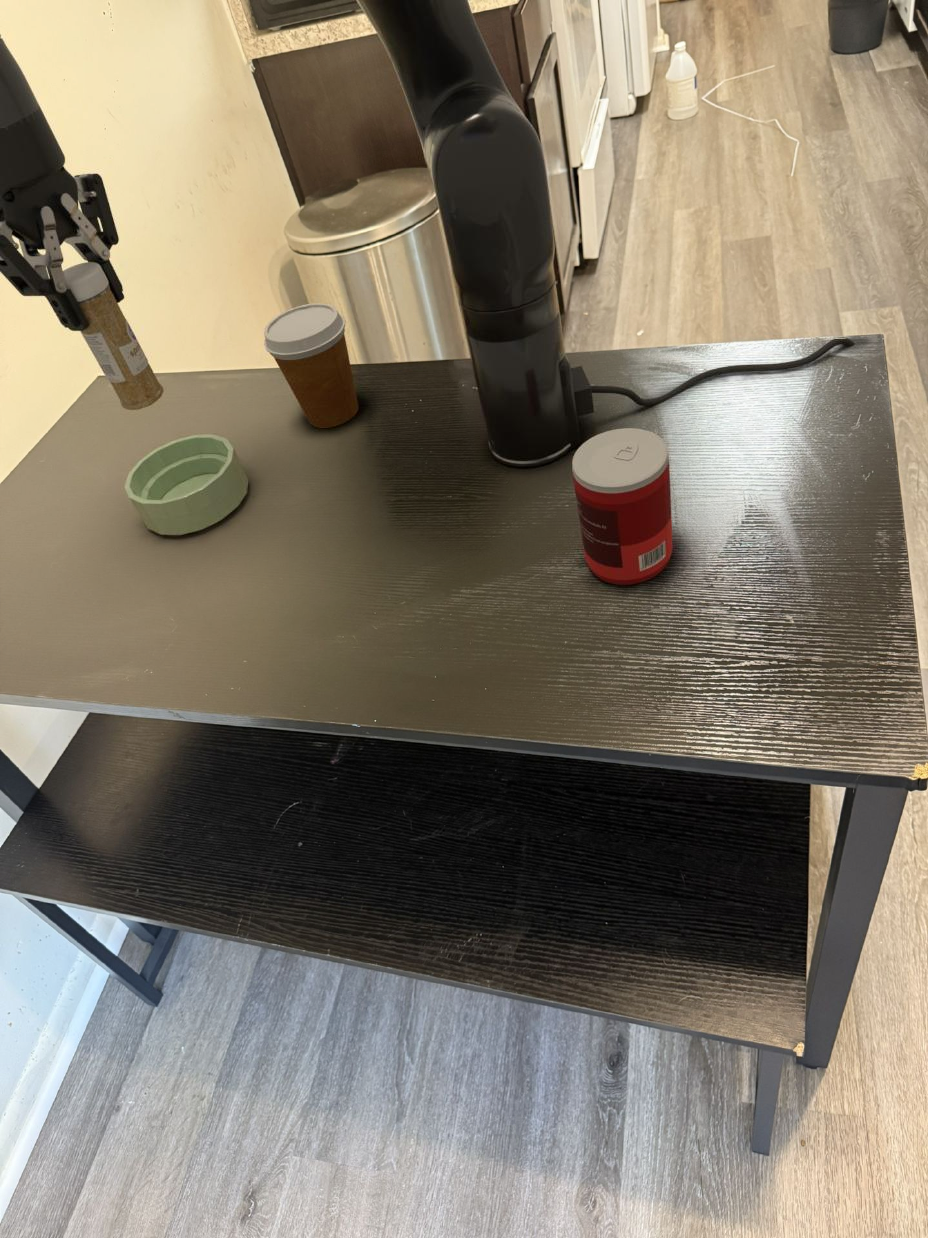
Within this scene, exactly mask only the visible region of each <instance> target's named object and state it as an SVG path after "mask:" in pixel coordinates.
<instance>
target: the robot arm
mask: <svg viewBox="0 0 928 1238" xmlns="http://www.w3.org/2000/svg"><path fill="white" fill-rule="evenodd" d="M355 1H356V2H357V4H358V6H359V7H360V9H361V10H362V12H363V13H364V15H365V17H366V18H367V20H368V21H369V23H370V25H371V26H372V28H373V29H374V31H375V33H376V34H377V36H378V38H379V39H380V41H381V43H382V44H383V46H384V49H385V50H386V52H387V54H388V56H389V59H390V61H391V63H392V66H393V69H394V71H395V73H396V76H397V78H398V81H399V83H400V87H401V89H402V91H403V94H404V97H405V100H406V103H407V106H408V108H409V111H410V114H411V117H412V120H413V122H414V123H413V124H414V126H415V129H416V132H417V135H418V138H419V142H420V144H421V148H422V152H423V157H424V161H425V165H426V167H427V171H428V174H429V176H430V179H431V182H432V185H433V190H434V194H435V198H436V203H437V207H438V212H439V217H440V221H441V225H442V229H443V234H444V238H445V244H446V248H447V252H448V257H449V263H450V269H451V277H452V281H453V286H454V289H455V294H456V298H457V303H458V307H459V312H460V316H461V321H462V325H463V330H464V335H465V340H466V343H467V348H468V353H469V358H470V362H471V367H472V371H473V376H474V380H475V384H476V389H477V393H478V398H479V403H480V407H481V411H482V417H483V421H484V425H485V429H486V437H487V440H488V447H489V451H490V454H491V455H492V457H493V458H494V459H495V460H496V461H498V462H500V463H501V464H504V465H506V466H509V467H510V466H511V467H518V468H528V467H530V468H531V467H537V466H542V465H545V464H549V463H551V462H553V461H556V460H557V459H559V458H562V457H563V456H564V455H565V454H567V453H568V452H569V451H570V450H572V449H575V448H579V447H580V446H581V445H582V442H581V433H580V428H579V419H578V418H579V417H582V416H587V415H590V414H595V408H594V407H595V406H594V397H593V394H614V395H615V394H616V395H621V396H625V397H627V398H629V399H630V400H631V401H632V402H634V403H635V404H636V405H638V406H640V407H641V406H642V407H653V406H657V405H660V404H662V403H664V402H666V401H668V400H670V399H672V398H673V397H675V396H677V395H680V394H681V393H682V392H684V391H685V390H688V389H689V388H691V387H693V386H694V385H696V384H698V383H700V382H702V381H704V380H707V379H710V378H712V377H717V376H720V375H726V374H734V373H746V372H747V373H751V372H752V373H753V372H775V371H785V370H790V369H796V368H800V367H803V366H807V365H809V364H811V363H813V362H815V361H816V360H818V359H820V358H821V357H822V356H824V355H825V354H826V353H827V352H829V351H830V350H831V349H833V348H835V347H836V346H841V345H842V346H844V347H847V348H850V347H853V346H855V344H856V343H855V342H854V341H853V340H852V339H850V338H849V337H843V336H842V337H841V336H840V338H846V339H835V338H833V339H831V340H830V341H828V342H827V343H825V344H824V345H823V346H821V347H820V348H819V349H817V350H816V351H814V352H813V353H811V354H810V355H807V356H806V357H803V358H800V359H796V360H791V361H786V362H776V363H755V364H735V365H727V366H721V367H720V366H719V367H716V368H712V369H709V370H706V371H703V372H700V373H698V374H697V375H694V376H693V377H691V378H689V379H687V380H686V381H684V382H683V383H681V384H680V385H678V386H676V387H675V388H673V389H672V390H670V391H668V392H667V393H664V394H663V395H660V396H658V397H653V398H642V397H641V396H639V395H638V394H637V393H636V392H635V391H634V390H632V389H629V388H625V387H622V386H615V385H614V386H613V385H591V383H590V381H589V379H588V377H587V375H586V373H585V370H584V368H583V366H582V365H579V366H575V367H571V364H570V361H569V358H568V356H567V353H566V349H565V341H564V334H563V327H562V320H561V312H560V304H559V298H558V289H557V283H556V275H555V267H554V266H555V265H554V259H555V235H554V225H553V218H552V209H551V207H552V206H551V199H550V191H549V182H548V175H547V167H546V162H545V156H544V152H543V147H542V143H541V140H540V138H539V135H538V134H537V131H536V129H535V128H534V126H533V125H532V123H531V122H530V121H529V119H528V118H527V117H526V115H525V114H524V112H523V111H522V109H521V108H520V106H519V105H518V103H517V102H516V101H515V99H514V97H513V96H512V94H511V93H510V91H509V89H508V87H507V86H506V83H505V81H504V79H503V78H502V76H501V74H500V72H499V70H498V67H497V66H496V64H495V62H494V60H493V57H492V55H491V53H490V51H489V49H488V47H487V44H486V42H485V41H484V37H483V35H482V33H481V31H480V29H479V27H478V24H477V22H476V19H475V17H474V14H473V12H472V8H471V6H470V3H469V0H355ZM65 164H66V157H65V153H64V152H63V150H62V148H61V146H60V144H59V142H58V140H57V138H56V135H55V134H54V132H53V130H52V128H51V126H50V124H49V121H48V120H47V118H46V116H45V114H44V112H43V110H42V108H41V105H40V104H39V102H38V100H37V98H36V96H35V94H34V91H33V90H32V88H31V86H30V84H29V81H28V80H27V78H26V76H25V74H24V72H23V70H22V68H21V67H20V65H19V63H18V61H17V60H16V59H15V57H14V55H13V54H12V52H11V50H10V49H9V48H8V46H7V44H6V42H5V40H4V39H3V38H2V35H1V34H0V274H2V275H3V276H4V278H5V279H6V280H7V281H8V282H9V283H10V284H11V285H12V286H13V287H14V288H15V289H16V290H17V292H18V293H19V294H20V295H21V296H23V297H44V298H45V299H46V300H47V301H48V303H49V305H50V307H51V309H52V310H53V312H54V314H55V315H56V317H57V319H58V321H59V323H60V324H61V325H62V326H63V327H64V328H65V329H69V331H72V332H81V331H84V330H85V329H87V328H88V327H89V322H88V320H87V319H86V317H85V315H84V313H83V311H82V309H81V308H80V306H79V304H78V302H77V300H76V299H75V297H74V295H73V293H72V291H71V289H67V284H66V281H65V277H64V274H63V271H64V269H63V267H62V264H63V263H64V255H63V252H62V248H61V246H62V245H63V243H65V244H68V245H70V246H71V247H72V249H74V250H75V251H76V253H77V254H78V255H79V256H80V257H81V258H82V260H84V261H85V262H95V263H97V264H99V265H100V266H101V268H102V270H103V272H104V274H105V276H106V278H107V280H108V282H109V284H108V285H109V287H110V290H111V292H112V294H113V296H114V298H115V300H116V302H117V303H118V304H119V303H121V302H122V301H123V300H125V295H124V287H123V284H122V282H121V280H120V279H119V276H118V274H117V272H116V270H115V268H114V266H113V264H112V261H111V260H110V258H111V249H112V247H113V246H116V245H118V244H119V242H120V241H119V240H120V238H119V234H118V230H117V227H116V223H115V219H114V217H113V213H112V209H111V207H110V201H109V198H108V194H107V191H106V187H105V184H104V181H103V178H102V176H101V175H100V174H99V173H82V174H76V175H72V174H71V173H70V172H69V171H68V170H67V169H66V167H65ZM79 207H80V208H79ZM100 224H101V225H100ZM13 237H14V238H16V239H17V240H18V243H17V242H16V241H15V240H14V238H13ZM19 248H20V249H21V252H22V253H21V252H20V251H19ZM39 250H40V251H45V254H43V253H42V254H41V253H40V252H39Z"/></svg>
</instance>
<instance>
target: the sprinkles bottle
mask: <svg viewBox="0 0 928 1238" xmlns="http://www.w3.org/2000/svg"><path fill="white" fill-rule="evenodd" d="M63 274H64V277H65V281H66V284H67V289H71V291H72V293H73V295H74V297H75V299H76V300H77V302H78V304H79V306H80V308H81V309H82V311H83V313H84V315H85V317H86V319H87V320H88V322H89V327H88V328H87V329H85V330H84V331H80V334H81V335H82V337H83V340H84V341H85V342H86V344H87V346H88V347H89V350H90V351H91V353H92V355H93V357H94V358H95V360H96V362H97V364H98V365H99V367H100V370H101V371H102V373H103V374H104V376H105V378H106V380H107V381H108V382H109V383H110V385H111V386H112V388H113V390H114V392H115V394H116V396H117V397H118V399H119V403H120V406H121V407H122V408H123V409H125V410H128V411H139V410H142V409H145V408H147V407H150V406H152V405H153V404H155V403H156V402H158V400H159V399H161V397H162V396H163V394H164V387H163V385H162V384H161V383H160V382H159V380H158V378H157V375H156V374H155V373H154V370H153V369H152V367H151V365H150V363H149V360H148V358H147V356H146V354H145V351H144V350H143V348H142V346H141V345H140V343H139V340H138V339H137V336H136V335H135V332H134V331H133V329H132V327H131V325H130V323H129V321H128V319H127V318H126V317H125V315H124V313H123V311H122V309H121V307H120V305H119V303H117V302H116V300H115V298H114V296H113V294H112V292H111V290H110V287H109V285H108V284H109V282H108V280H107V278H106V276H105V274H104V272H103V270H102V268H101V266H100V265H99V264H97V263H95V262H88V261H85V262H81V263H78V264H75V265H72V266H70V267H67V268H66V269H63Z"/></svg>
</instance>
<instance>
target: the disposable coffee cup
mask: <svg viewBox="0 0 928 1238" xmlns="http://www.w3.org/2000/svg"><path fill="white" fill-rule="evenodd" d="M345 327H346V320H345V318H344V316H343V315H342V314H340V313H339V311H338V310H337V308H336V307H335V306H334V305H331V304H328V303H323V302H314V303H308V304H302V305H299V306H295V307H293V308H290V309H288V310H285V311H283V312H281V313H279V314H278V315H276V316H275V317H273V319H271V320H270V321H269V322H268V323H267V325H266V326H265V328H264V331H263V336H264V340H263V346H264V348H265V350H266V351H267V352H268V353H269V354H270V355H271V357H273V358H274V360H275V362H276V364H277V366H278V368H279V370H280V371H281V373H282V375H283V376H284V378H285V380H286V382H287V384H288V386H289V387H290V390H291V391H292V393H293V396H294V397H295V399H296V400H297V402H298V404H299V406H300V408H301V410H302V411H303V414H304V415H305V417H306V418H307V421H308V422H309V424H310V426H313V427H315V428H319V429H327V428H333V427H337V426H340V425H343V424H344V423H347V422H348V421H350V420H351V419H352V418H353V417H354V416H356V414H357V412H358V411H359V401H358V398H357V397H358V396H357V392H356V387H355V382H354V381H355V380H354V377H353V376H354V375H353V370H352V367H351V366H352V365H351V361H350V356H349V350H348V346H347V342H346V336H345V331H346V329H345Z"/></svg>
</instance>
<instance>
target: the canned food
mask: <svg viewBox="0 0 928 1238" xmlns="http://www.w3.org/2000/svg"><path fill="white" fill-rule="evenodd" d="M577 448H578V449H577V450H576V451H575V452H574V455H573V457H572V461H571V462H572V468H571V469H572V476H573V477H572V478H573V485H574V493H575V501H576V506H577V507H576V508H577V512H578V520H579V527H580V532H581V539H582V540H581V541H582V547H583V552H584V558H585V562H586V564H587V566H588V567H589V569H590V570H591V571H590V572H592V573H593V574H594V575H595V576H596V578H598V579H600V580H601V581H603V582H606V583H608V584H612V585H618V586H620V585H621V586H628V585H637V584H641V583H643V582H646V581H650V580H651V579H653V578H654V577H656V576H658V575H659V574H660V573H662V571H663V570H664V569H665V568H666V567H667V566H668V563H669V561H670V559H671V556H672V553H673V548H674V545H673V541H674V540H673V521H672V519H673V517H672V497H671V496H672V495H671V474H670V473H671V472H670V458H669V457H670V456H669V452H668V451H669V450H668V446H667V444H666V442H665V441H664V440H663V438H662V437H660V436H659V435H657V434H656V433H654V432H652V431H649V430H646V429H643V428H633V427H631V428H630V427H628V428H627V427H625V428H616V429H612V430H607V431H603V432H601V433H598V434H596V435H594V436H592V437H590V438H589V439H588V440H585V442H583V443H581V446H579V447H577Z"/></svg>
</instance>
